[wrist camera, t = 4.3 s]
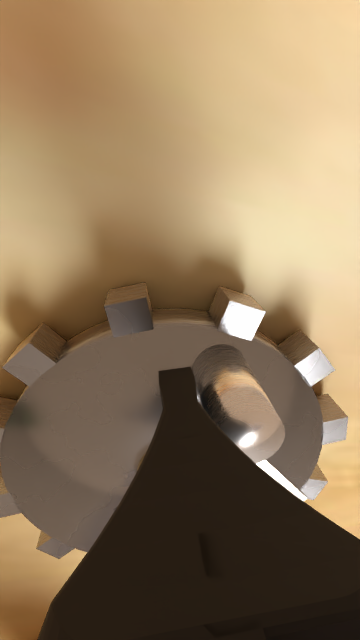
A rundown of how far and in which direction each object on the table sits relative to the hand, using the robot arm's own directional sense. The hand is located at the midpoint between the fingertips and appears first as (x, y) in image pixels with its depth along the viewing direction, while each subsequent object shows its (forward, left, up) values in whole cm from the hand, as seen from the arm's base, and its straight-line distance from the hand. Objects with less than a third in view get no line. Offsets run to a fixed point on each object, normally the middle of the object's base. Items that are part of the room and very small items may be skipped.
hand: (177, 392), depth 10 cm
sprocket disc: (-4, +3, -3) cm, 6 cm away
